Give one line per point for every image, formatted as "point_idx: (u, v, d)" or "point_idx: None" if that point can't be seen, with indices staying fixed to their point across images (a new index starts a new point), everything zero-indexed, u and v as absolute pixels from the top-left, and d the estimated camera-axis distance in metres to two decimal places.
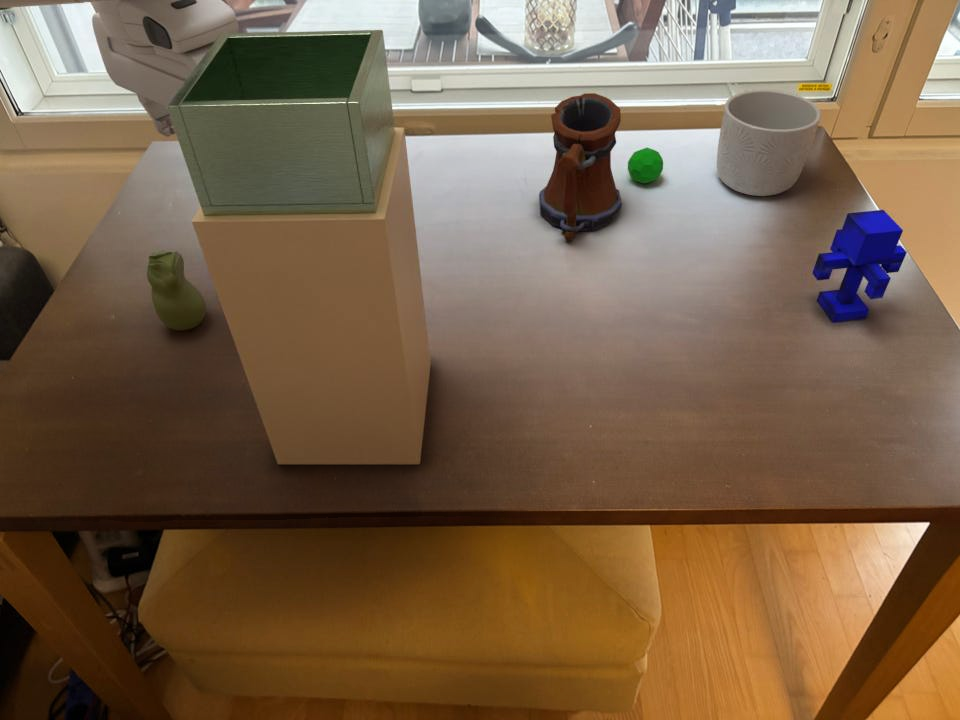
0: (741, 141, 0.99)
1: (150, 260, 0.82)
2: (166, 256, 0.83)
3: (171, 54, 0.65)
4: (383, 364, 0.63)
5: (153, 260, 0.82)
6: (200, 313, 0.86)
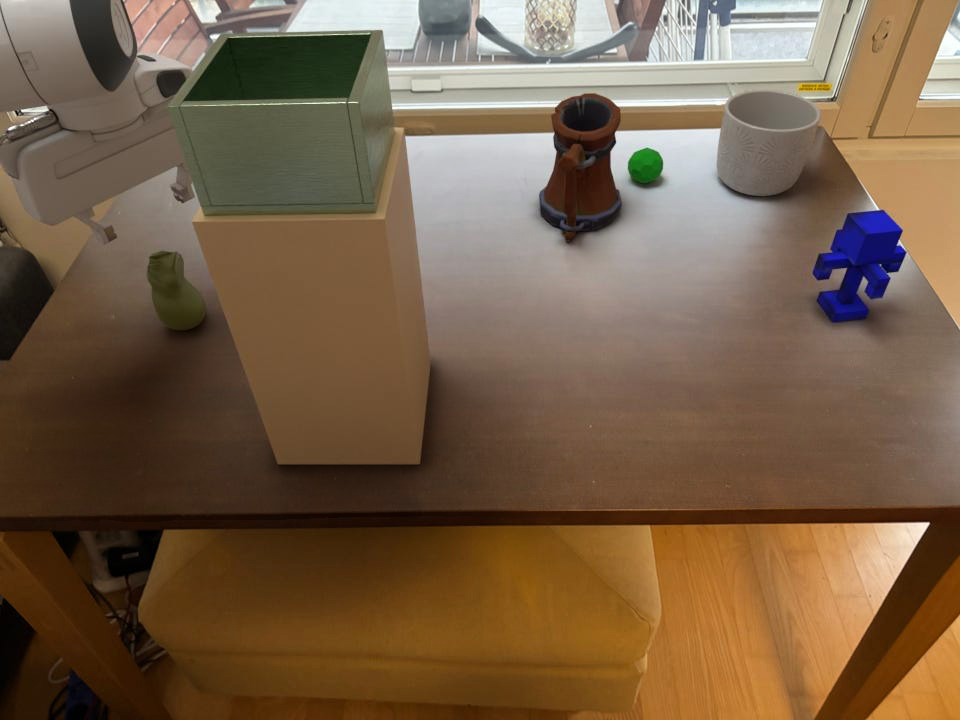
0: (741, 142, 0.99)
1: (150, 260, 0.82)
2: (166, 256, 0.83)
3: None
4: (383, 364, 0.63)
5: (153, 260, 0.82)
6: (200, 313, 0.86)
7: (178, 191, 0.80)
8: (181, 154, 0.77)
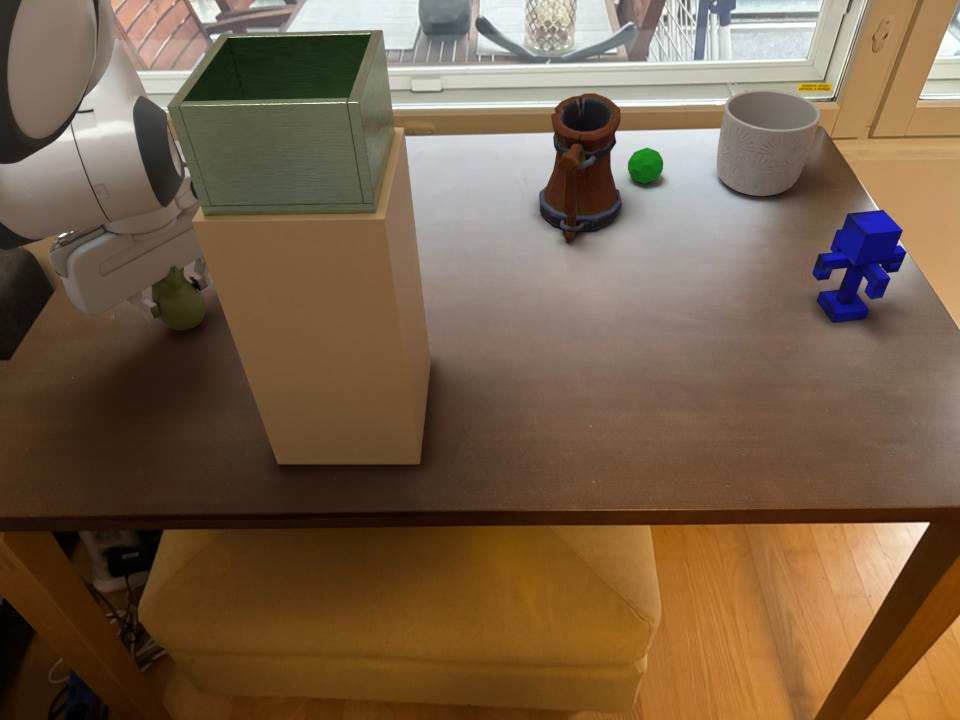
0: (741, 141, 0.99)
1: None
2: None
3: None
4: (383, 364, 0.63)
5: None
6: (200, 313, 0.86)
7: (196, 281, 0.86)
8: None
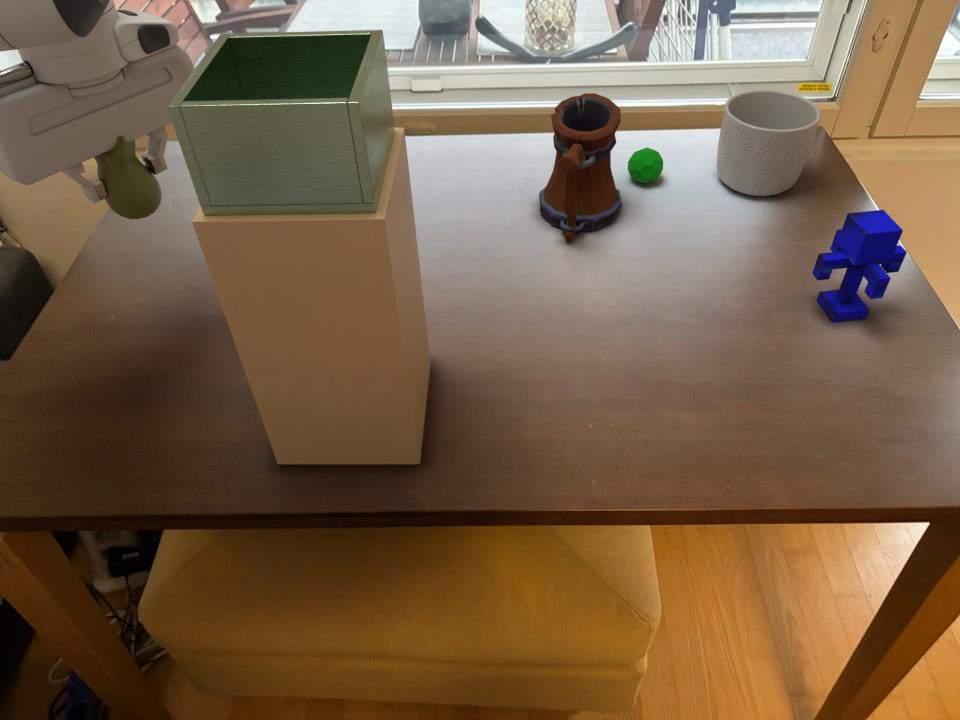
0: (741, 141, 0.99)
1: None
2: None
3: (159, 56, 0.70)
4: (383, 364, 0.63)
5: None
6: (155, 198, 0.76)
7: (149, 161, 0.76)
8: (164, 116, 0.74)
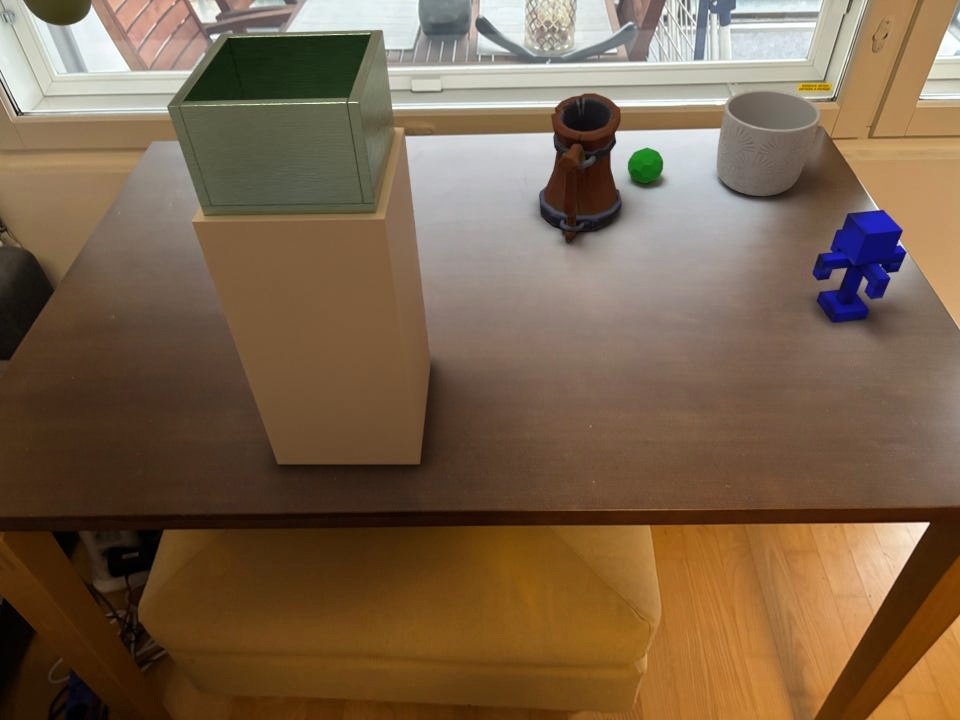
0: (741, 142, 0.99)
1: None
2: None
3: None
4: (383, 364, 0.63)
5: None
6: None
7: None
8: None
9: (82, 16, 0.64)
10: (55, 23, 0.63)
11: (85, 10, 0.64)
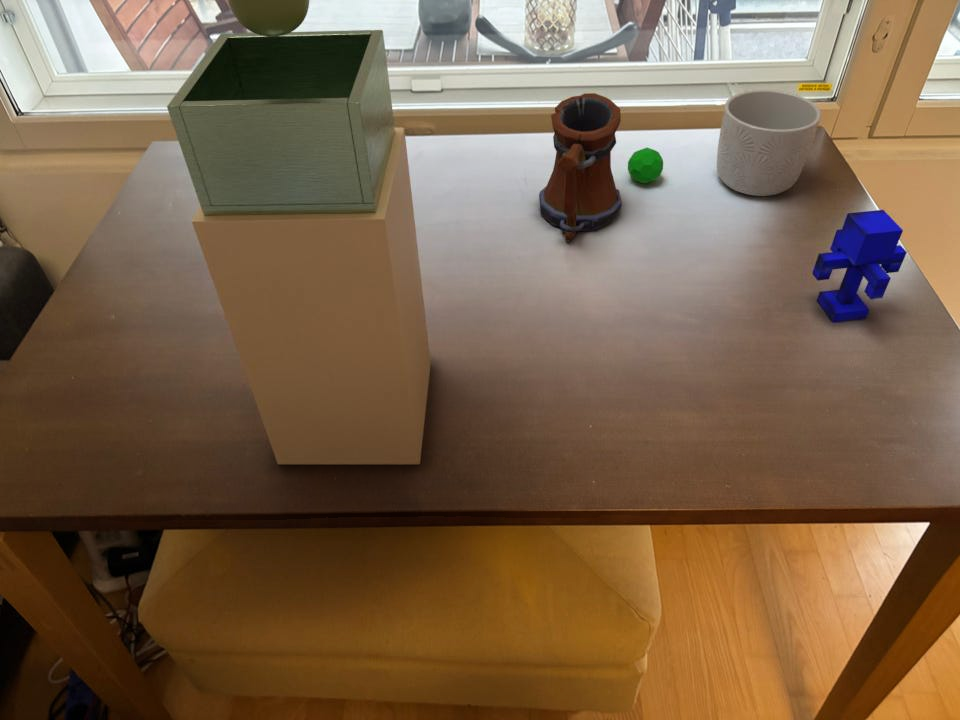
0: (741, 142, 0.99)
1: None
2: None
3: None
4: (383, 364, 0.63)
5: None
6: (303, 0, 0.49)
7: None
8: None
9: (299, 25, 0.50)
10: (267, 34, 0.49)
11: (303, 17, 0.50)
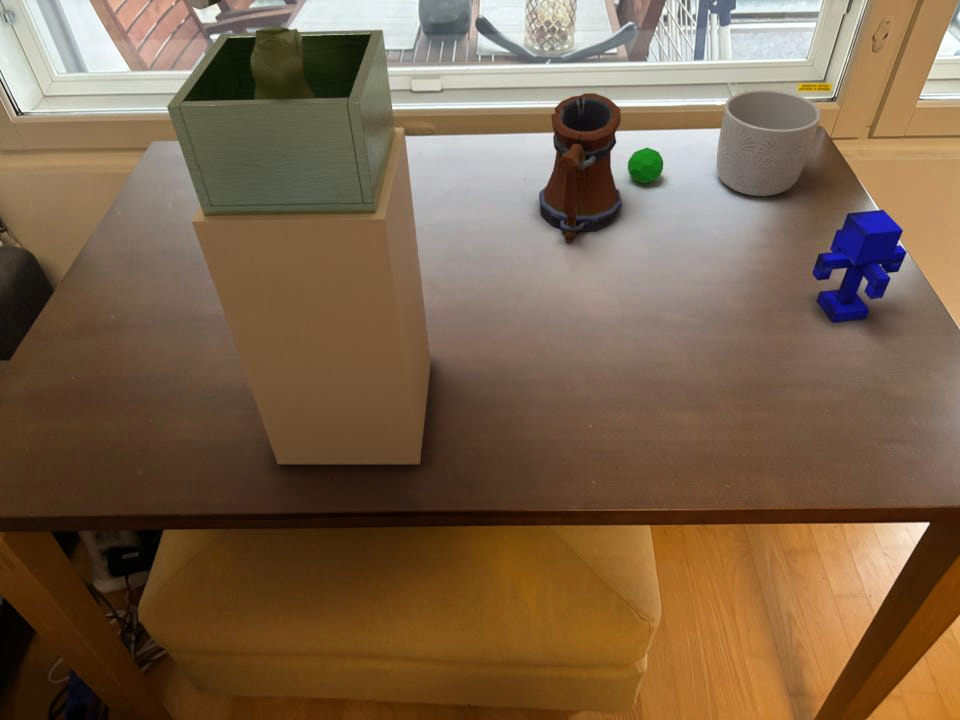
0: (741, 141, 0.99)
1: (258, 37, 0.51)
2: (281, 34, 0.52)
3: None
4: (383, 364, 0.63)
5: (263, 36, 0.51)
6: None
7: None
8: None
9: None
10: None
11: None
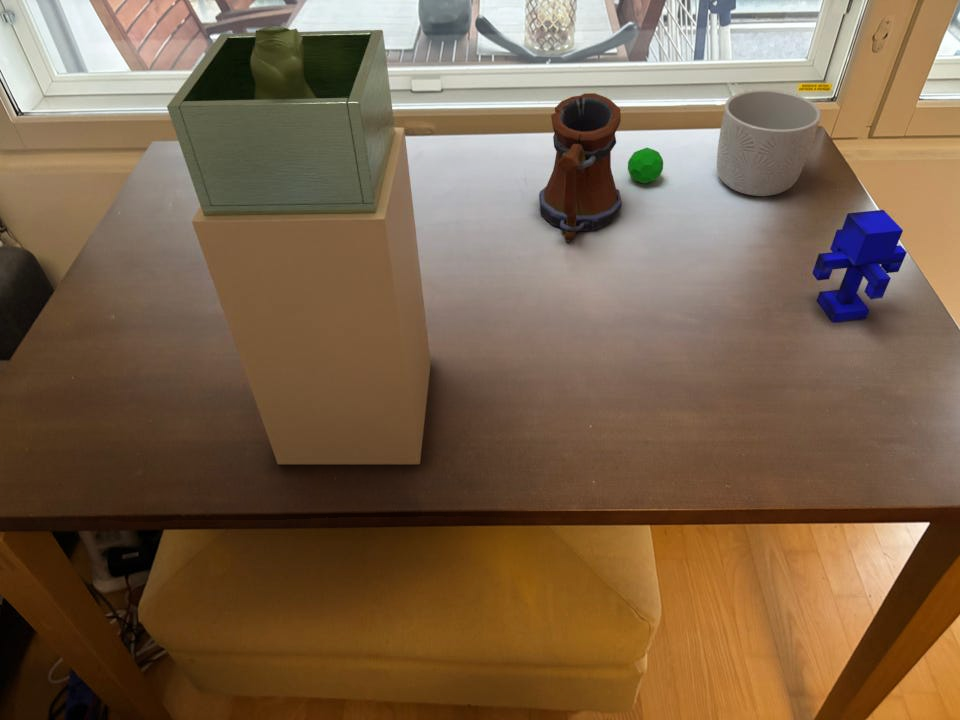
0: (741, 141, 0.99)
1: (258, 37, 0.51)
2: (281, 34, 0.52)
3: None
4: (383, 364, 0.63)
5: (263, 36, 0.51)
6: None
7: None
8: None
9: None
10: None
11: None
